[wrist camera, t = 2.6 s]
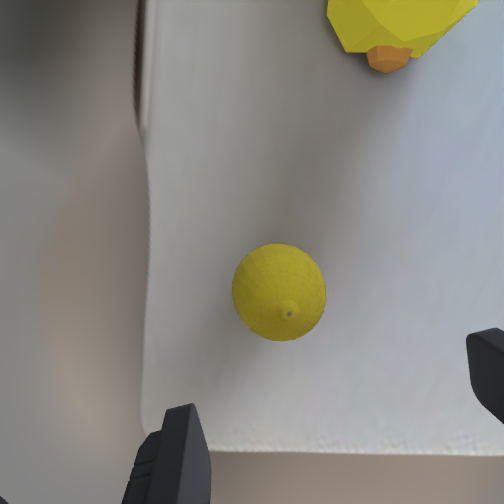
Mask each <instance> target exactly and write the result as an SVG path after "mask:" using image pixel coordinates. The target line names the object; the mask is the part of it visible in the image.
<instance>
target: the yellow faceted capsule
mask: <svg viewBox="0 0 504 504" xmlns="http://www.w3.org/2000/svg"><path fill="white" fill-rule="evenodd" d="M478 1H479V0H328V8H327V16H328V18H329V20H330V22H331V24H332V26H333V28H334V30H335V32H336V34H337V36H338V38H339V39H340V41H341V43H342V45H343V47H344V49H345V51H346V52H366V53H367V58H368V62H369V66H370V67H371V68H374V69H376V70H379V71H381V72H384V73H386V74H387V73H389V72H392V71H395V70H397V69H400V68H402V67H405V65H406V63H407V61H408V59H409V57H413V58H417V59H418V58H419V57H420V56H421V55H423V54H424V53H425V52H426V51H427V50H428V49H429V48H430V47H431V46H432V45H434V44H435V43H436V42H437V41H438V40H439V39H440V38H441V37H442V36H444V35H445V34H446V33H447V32H448V31H449V30H450V29H451V28H452V27H453V26H454V25H456V24H457V23H458V22H459V21H460V20H461V19H462V18H463V17H464V16H465V15H466V14H467V13H468V12H469V11H470V10H472V9H473V8H474V7H475V6H476V5H477V4H478Z"/></svg>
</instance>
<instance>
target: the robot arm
mask: <svg viewBox="0 0 504 504" xmlns="http://www.w3.org/2000/svg"><path fill="white" fill-rule="evenodd" d="M466 346H467V355H468V363H469V372H470V380H471V385H472V389H473V391H474V393H475V395H476V397H477V399H478V400H479V402H480V403H481V404H482V405H483V406H484V407H485V408H486V409H487V410H489V411H490V412H491V413H492V414H493V415H494V416H495V417H496V418H497V419H499V420H500V421H501V422H502V423H503V424H504V331H502V330H501V329H498V328H491V329H487V330H484V331H480V332H476V333H472V334H469V335H468V336H467V338H466ZM210 495H211V461H210V455H209V450H208V447H207V443H206V440H205V437H204V433H203V430H202V427H201V423H200V420H199V417H198V413H197V410H196V407H195V405H194V404H193V403H191V404H187V405H183V406H179V407H175V408H171V409H167V410H166V413H165V417H164V421H163V425H162V429H161V430H160V431H156V432H152V433H150V434H149V436H148V437H147V438H146V440H145V441H144V442H143V444H142V445H141V446H140V448H139V450H138V453H137V456H136V459H135V462H134V467H133V469H132V472H131V475H130V481H129V482H128V484H127V488H126V491H125V494H124V497H123V500H122V504H210Z"/></svg>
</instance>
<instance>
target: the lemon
mask: <svg viewBox="0 0 504 504" xmlns="http://www.w3.org/2000/svg"><path fill="white" fill-rule="evenodd" d="M232 296H233V300H234V305H235V308H236V310H237V312H238V314H239V316H240V318H241V319H242V321H243V322H244V323H245V324H246V325H247V326H248V327H249V328H250V329H251V330H252V331H253V332H255V333H256V334H258V335H260V336H261V337H264V338H267V339H270V340H274V341H288V340H294V339H296V338H299V337H301V336H303V335H305V334H306V333H308V332H309V331H310V330H312V329H313V327H314V326H315V325H316V324H317V323H318V321H319V319H320V318H321V316H322V314H323V312H324V307H325V303H326V285H325V282H324V279H323V275H322V273H321V271H320V269H319V267H318V266H317V264H316V263H315V261H314V260H313V259H312V258H311V257H310V256H309V255H308V254H306V253H305V252H304V251H302V250H300V249H298V248H296V247H294V246H292V245H287V244H283V243H273V244H267V245H264V246H260V247H258V248H256V249H255V250H253V251H251V252H250V253H249V254H248V255H247V256H246V257H245V258H244V259H243V260H242V261H241V263H240V264H239V266H238V268H237V269H236V272H235V275H234V279H233V286H232Z"/></svg>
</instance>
